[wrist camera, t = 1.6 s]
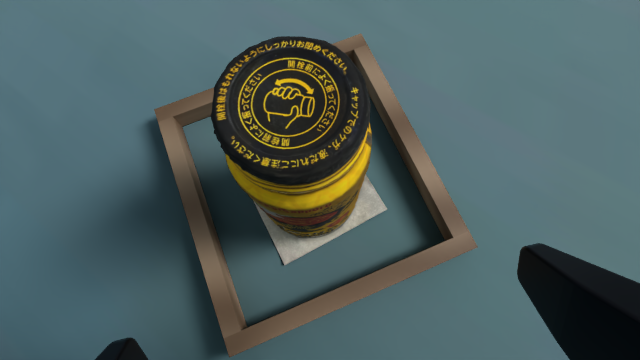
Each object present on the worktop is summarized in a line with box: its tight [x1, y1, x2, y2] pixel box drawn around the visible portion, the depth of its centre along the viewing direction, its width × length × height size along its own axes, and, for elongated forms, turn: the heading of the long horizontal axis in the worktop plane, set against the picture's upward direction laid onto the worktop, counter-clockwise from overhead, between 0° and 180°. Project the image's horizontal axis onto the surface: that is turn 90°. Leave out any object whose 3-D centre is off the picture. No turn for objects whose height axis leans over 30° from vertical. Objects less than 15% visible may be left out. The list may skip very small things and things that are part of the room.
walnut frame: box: [154, 34, 477, 357], centre depth 22 cm, size 16×15×2 cm
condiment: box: [211, 36, 387, 265], centre depth 17 cm, size 7×8×12 cm
